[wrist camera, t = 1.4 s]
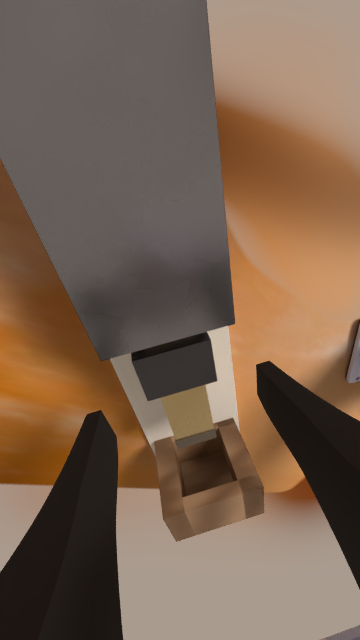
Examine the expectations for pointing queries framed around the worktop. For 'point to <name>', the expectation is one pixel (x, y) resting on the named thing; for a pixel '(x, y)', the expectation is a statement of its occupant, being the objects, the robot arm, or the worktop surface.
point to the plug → (180, 384)
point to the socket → (207, 482)
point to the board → (153, 411)
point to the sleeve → (120, 162)
